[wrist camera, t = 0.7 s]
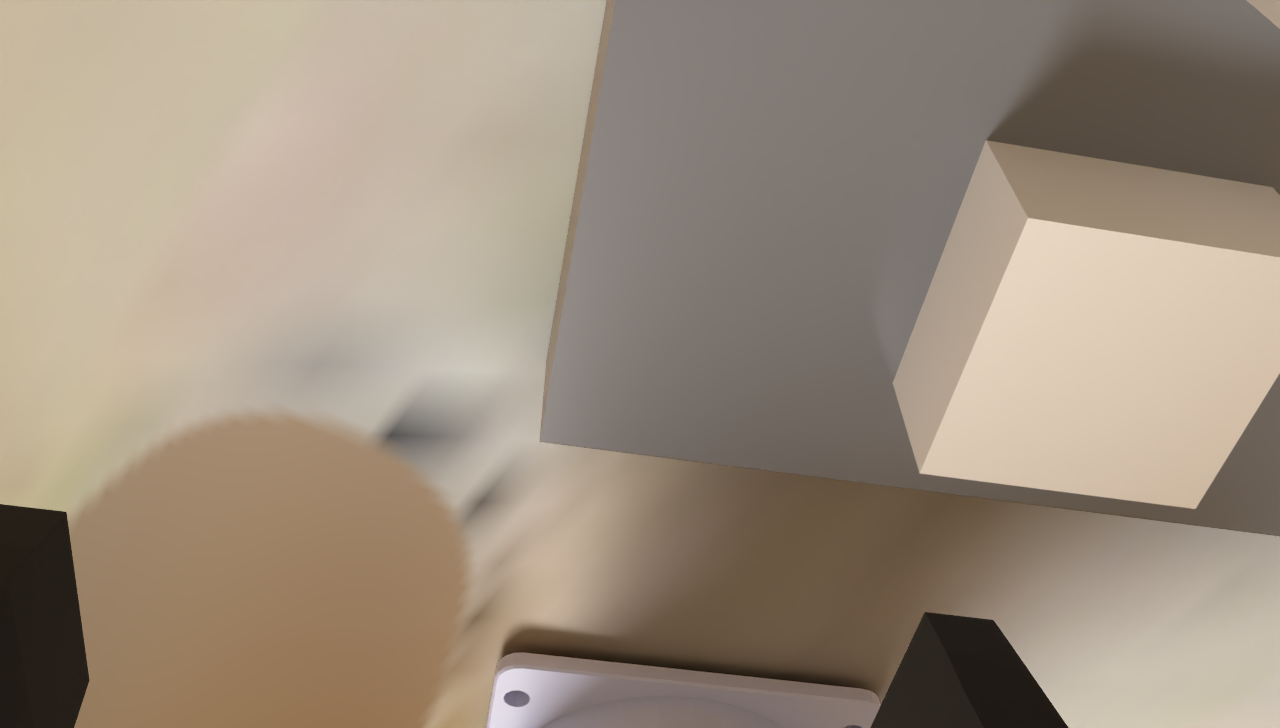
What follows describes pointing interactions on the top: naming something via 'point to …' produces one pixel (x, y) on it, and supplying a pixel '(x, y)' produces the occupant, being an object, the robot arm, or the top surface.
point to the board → (859, 212)
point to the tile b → (1268, 9)
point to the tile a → (1095, 328)
